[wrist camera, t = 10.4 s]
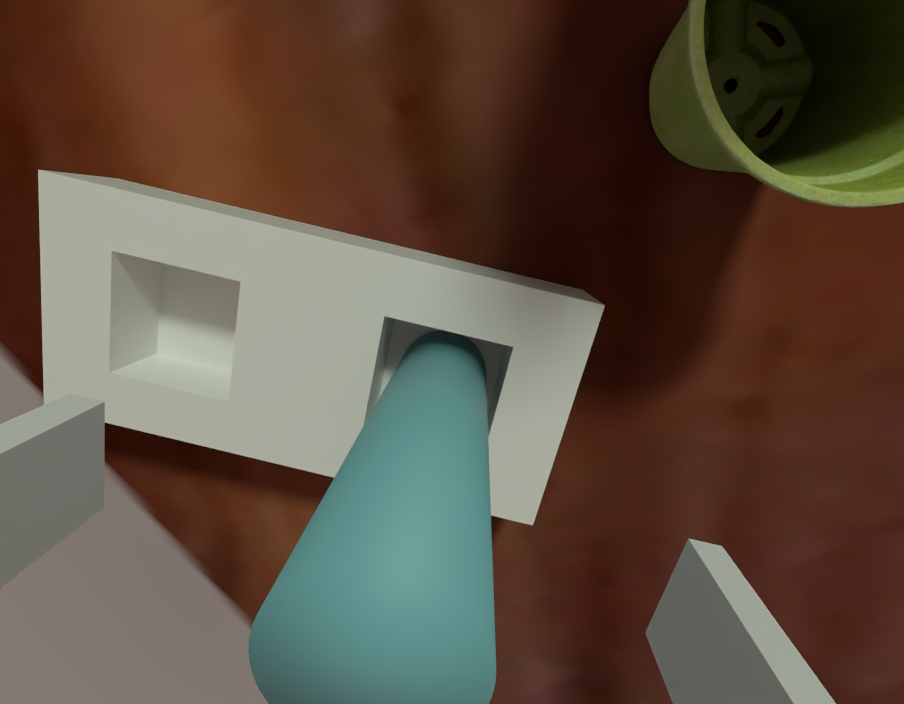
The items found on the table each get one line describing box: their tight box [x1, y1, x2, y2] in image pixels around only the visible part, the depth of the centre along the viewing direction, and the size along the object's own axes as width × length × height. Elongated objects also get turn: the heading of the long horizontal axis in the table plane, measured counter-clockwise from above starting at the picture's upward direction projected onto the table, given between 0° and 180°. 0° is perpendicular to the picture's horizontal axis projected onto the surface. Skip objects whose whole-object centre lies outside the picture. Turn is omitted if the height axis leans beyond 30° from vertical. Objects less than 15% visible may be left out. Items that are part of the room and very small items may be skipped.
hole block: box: [38, 170, 605, 525], centre depth 21 cm, size 10×22×4 cm, turn 77°
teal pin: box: [249, 330, 496, 704], centre depth 15 cm, size 4×4×15 cm
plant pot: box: [649, 0, 904, 207], centre depth 15 cm, size 9×9×9 cm
